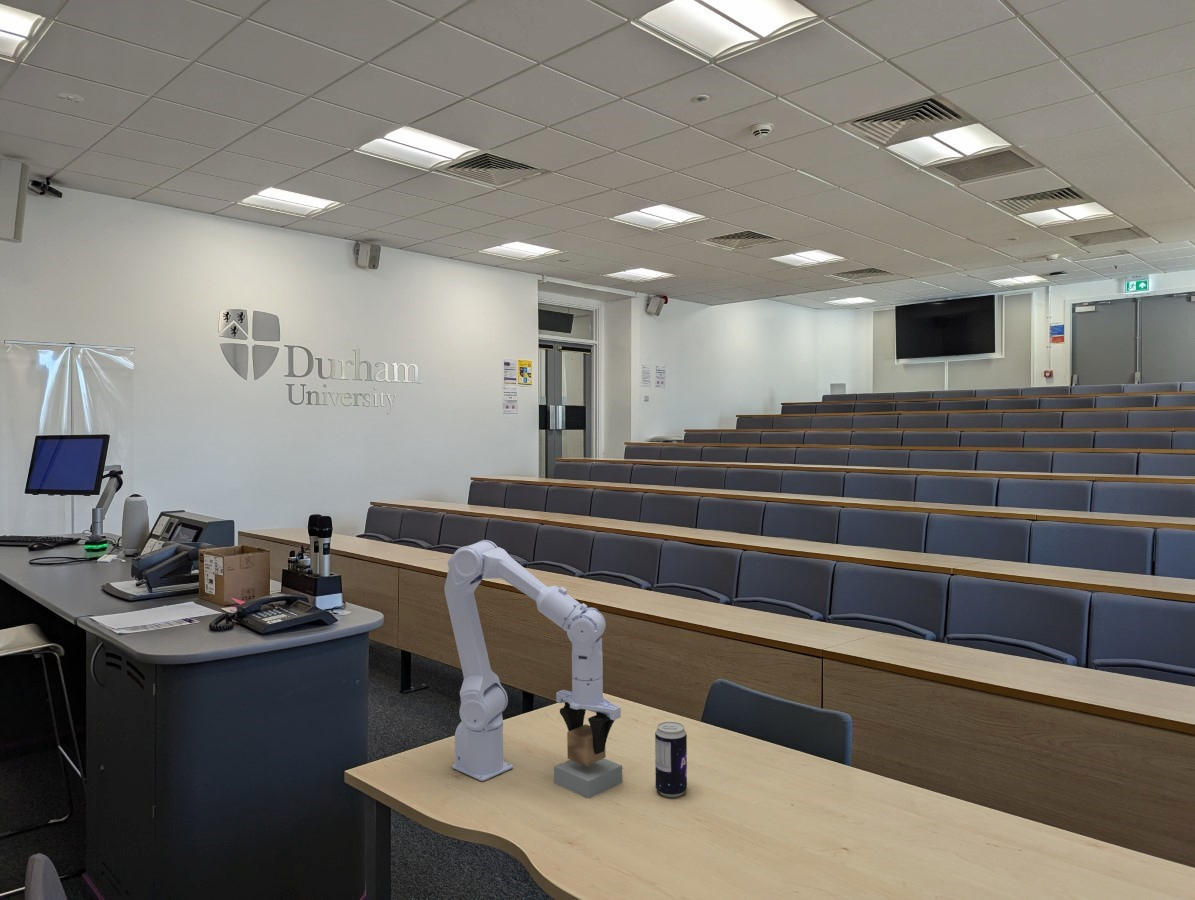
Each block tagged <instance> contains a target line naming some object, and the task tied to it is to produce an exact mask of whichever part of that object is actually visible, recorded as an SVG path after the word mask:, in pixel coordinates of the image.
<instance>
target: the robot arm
mask: <svg viewBox="0 0 1195 900" xmlns="http://www.w3.org/2000/svg"><path fill="white" fill-rule="evenodd" d="M447 565H448V572H447V574H446V578H445V579H446V580H445V583H444V587H443V588H444V595H445V600H446V605H447V608H448V609H447V610H448V612H449V613H448V614H449V618H450V622H451V626H452V631H453V635H454V640H455V644H456V648H457V653H458V658H459V662H460V666H461V671H462V675H463V681H462V684H461V688H460V690H459V697H460V706H459V711H458V712H459V718H460V720H461V722H459V724H458V725H457V726H456V730H455V732H454V758H455V759H454V763H453V764H452V765H451V768H452V769H454V770H456V771H458V772H461V773H463V774H465V775H467V776H470V777H472V778H474V779H476V780H478V781H480V782H484V781H487V780H489V779H491V778H494V777H495V776H498V775H500V774H503V773H505V772H507V771H509V770H512V769H513V768H514V765H513V764H512V763H509V762H507V761H504V720H503V719H504V718H503V712H504V711H505V709H506V708H507V706H508V701H509V699H508V698H509V697H508V693H507V691H506V690H505V688H504V687H503V686H502V683H501V682H500V678H499V676H498V674H496V673H495V672H494V671H493V670H492V668H491V663H490V659H489V655H488V650H487V645H486V641H485V636H484V631H483V628H482V623H481V620H480V619H481V618H480V614H479V610H478V607H477V602H476V601H477V600H476V598H475V592H476V589H477V588H478V586H479V585H480V584H481V582H482V580H484V579H485V580H486V579H490V580H491V579H492V580H493V579H501V580H504V581H505V582H506V583H508V584H509V585H511V586H513V587H514V588H516V590H519V591H520V592H521V593H523V594H524V595H526V596H528V597H530V598H531V599H532V600H533V601H535V603H536V607H537V611H538V613H539V612H540V614H542V615H543V616H545V617H546V618H548V620H550V621H551V622H553V623H555V625H557V626H558V627H560V628H561V629H562V630H563V631H565V632H566V635H567V637H568V639H569V641H570V642H571V684H572V685H571V686H572V687H571V691H570V690H566V689H562V690H559V691H557V692H556V695H555V696H556V697H555V698H556V701H555V702H556V703H559V704H563V703H564V706H563V707H561V708H559V714H560V716H561V717H562V719H563V721H564V723H565V726H566V727H567V732H569V731H571V730H573V729H576V728H578V727H580V726H583V725H584V721H585V716H586V712H587V711H589V712H591V713H595V715H592V716H590V717H588V718H587V721H588V723H589V726H591V730H592V735H593V749H594V754H599V753H601V752H604V749H605V750H606V744H607V740H608V736H609V733H610V730H611V728H612V726H613V724H614V723H615V721H616V720H618V719H620V718H621V717H622V714H621V713H622V710H621V709H622V708H621V706H618V705H616V704H614V703H613V702H611V701H609V700H608V699H607V698H604V692H603V691H604V688H603V687H604V685H603V684H604V680H603V679H604V678H603V677H604V676H603V674H604V673H603V672H604V671H603V670H604V669H603V668H604V667H603V664H604V663H603V661H604V660H603V659H604V658H603V657H604V655H603V638H602V637H601V636H602V635H603V633H605V630H606V626H607V625H606V624H607V623H606V619H605V617H604V615H603V614H602V613H601V612H600V611H599V610H598V608H595V607H588V605H587V604H585V603H584V602H583V603H581V602H579V601H578V600H577V599H575V598H574V597H572V596H571V595H569V593H567V592H568V589H566V588H565V587H564V586H561V587H559V586H557V585H551V586H547V585H546V584H544V583H543V582H542V581H541V580H539V579H538V578H537V577H536V576H534V575H533V574H532V573H531V572H530V571H528V570H527V569H526V568H525V567H524V566H522V564H520V563H519V562H518V561H516V560H515V559H514V558H513V557H511V556H510V554H509V553H508V552H507V551H506V549H503V548H501V547H500V546H499V547H498V545H496V543H495V542H493V541H491V540H488V539H482V540H480V541H478V542H476V543H472V544H470V545H466V546H462V547H459V548H458V549H457V550H456V551H454V553H453V555H452V556H451V557H450V558H449V559H448V561H447Z"/></svg>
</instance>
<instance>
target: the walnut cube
mask: <svg viewBox="0 0 1195 900" xmlns="http://www.w3.org/2000/svg"><path fill="white" fill-rule="evenodd" d="M566 735H567V737H566V738H567V740H566V742H567V743H566V744H567V747H566V748H567V759H568V760H572V761H575V762H578V763H580V764H583V765H586V766H589V765H591V764H593V763H595V762H597V761H599V760H601V759H603V758H604V759H606V752H607V751H606V748H605V749H604V752H601V753H599V754H594V749H593V735H592V730H591V726H590V724H589V725H588V724H583V726H580V727H578V728H576V729H573V730H571V731H567V733H566Z"/></svg>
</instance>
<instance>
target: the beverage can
mask: <svg viewBox="0 0 1195 900" xmlns="http://www.w3.org/2000/svg"><path fill="white" fill-rule="evenodd" d="M656 726H657V728H656V730H655V732H654V740H655V741H654V742H655V743H654V744H655V746H654V748H655V749H654V750H655V752H654V754H655V760H654V761H655V789H656V790H657V791H658V792H659V793H660V795H662V796H663V797H667V798H678V797H680V796H682V795H683V794H684V792H686V791H687V789H688V762H687V761H688V756H687V755H688V753H687V752H688V747H687V745H688V744H687V743H688V740H687V739H688V738H687V737H688V735H687V732H686V730H685V725H684V724H683V723H680V722H676V721H663V722H660V723H659V724H657V725H656Z"/></svg>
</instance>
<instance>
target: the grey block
mask: <svg viewBox="0 0 1195 900" xmlns="http://www.w3.org/2000/svg"><path fill="white" fill-rule="evenodd" d="M553 775H554V776H553V777H554V778H553V781H554V784H555V785H557V786H559V787H561V788H564V789H566V790H568V791H570V792H572V793H575V794H577V795H580V796H581V797H584V798H586V797H587V798H586V799H591V798H594V797H595V796H597V795H600V794H601V793H603V792H605V791H607V790H609V789H611V788H613V787H615V786H618V785H619V784H622V783H623V765H622V764H619V763H617V762H614V761H611V760H609V759H608V758H607V759H606V758H603V759H601V760H599V761H597V762H595V763H593V764H591V765H589V766H586V765H583V764H580V763H578V762H575V761H572V760H570V759H568V760H566V761H563V762H561V763H559V764H557V765H555V766H554V767H553Z"/></svg>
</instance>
